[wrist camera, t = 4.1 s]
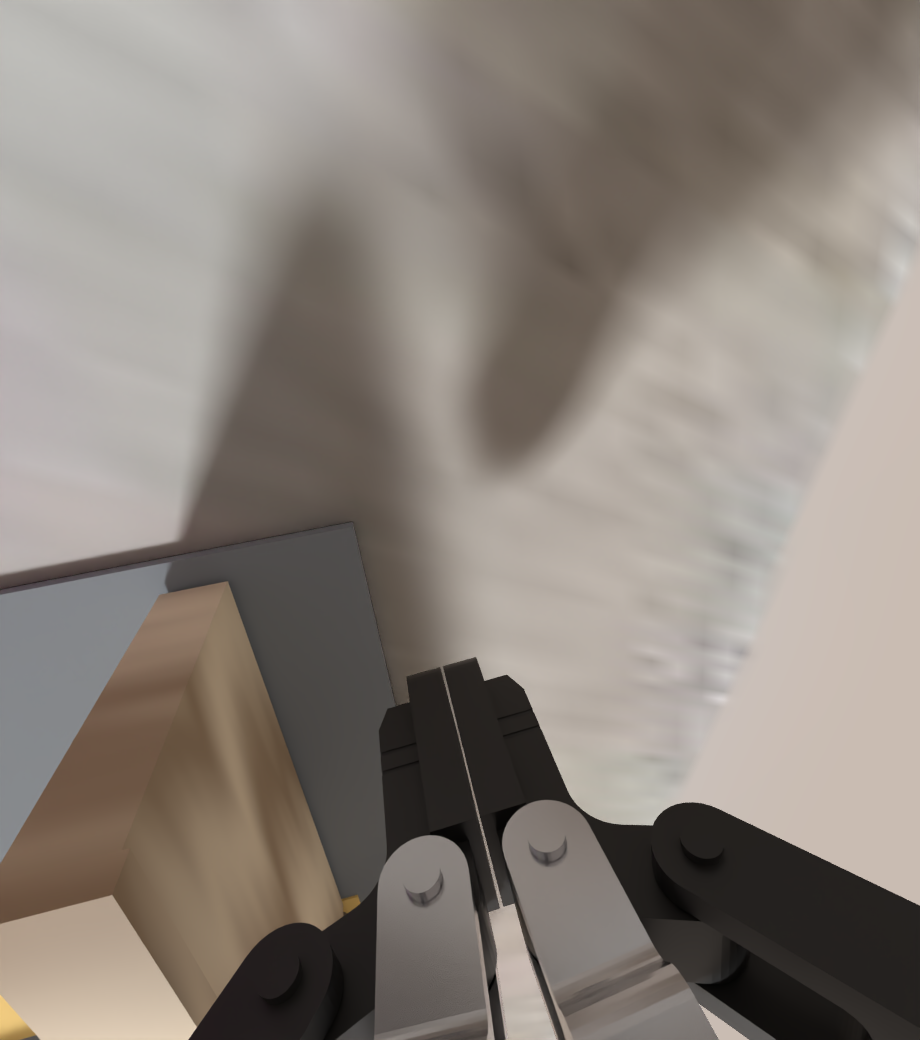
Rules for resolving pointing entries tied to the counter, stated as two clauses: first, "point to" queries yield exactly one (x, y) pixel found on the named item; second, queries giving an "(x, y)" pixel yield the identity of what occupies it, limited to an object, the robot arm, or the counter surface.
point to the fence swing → (160, 840)
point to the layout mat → (278, 652)
